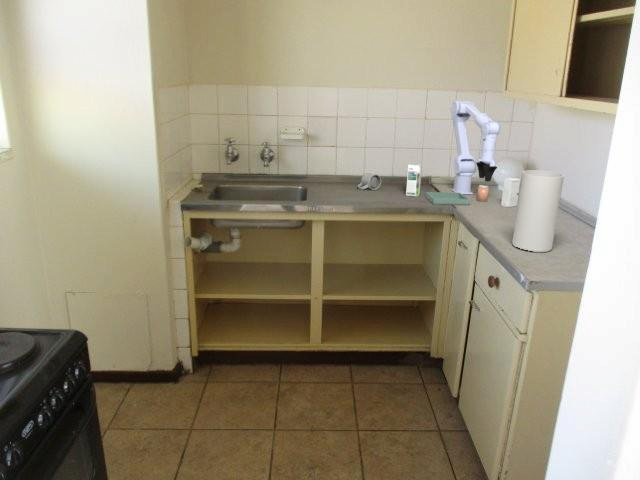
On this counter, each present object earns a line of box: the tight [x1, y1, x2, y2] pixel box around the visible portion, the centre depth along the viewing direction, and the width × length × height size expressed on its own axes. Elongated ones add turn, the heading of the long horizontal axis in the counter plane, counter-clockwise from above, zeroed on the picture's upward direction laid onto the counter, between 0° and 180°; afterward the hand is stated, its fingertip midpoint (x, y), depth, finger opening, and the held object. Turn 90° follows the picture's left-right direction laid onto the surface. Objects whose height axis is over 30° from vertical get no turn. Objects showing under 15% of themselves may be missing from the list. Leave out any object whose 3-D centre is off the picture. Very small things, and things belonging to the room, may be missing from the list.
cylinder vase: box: [511, 169, 565, 253], centre depth 173 cm, size 12×12×25 cm
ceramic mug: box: [357, 172, 382, 191], centre depth 258 cm, size 11×8×8 cm
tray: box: [425, 191, 471, 206], centre depth 237 cm, size 14×16×2 cm
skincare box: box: [500, 177, 521, 208], centre depth 231 cm, size 6×4×12 cm
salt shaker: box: [476, 184, 490, 203], centre depth 240 cm, size 5×5×7 cm
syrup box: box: [405, 163, 423, 197], centre depth 246 cm, size 6×6×14 cm
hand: (484, 179), depth 238 cm, fingers open, 7 cm apart
